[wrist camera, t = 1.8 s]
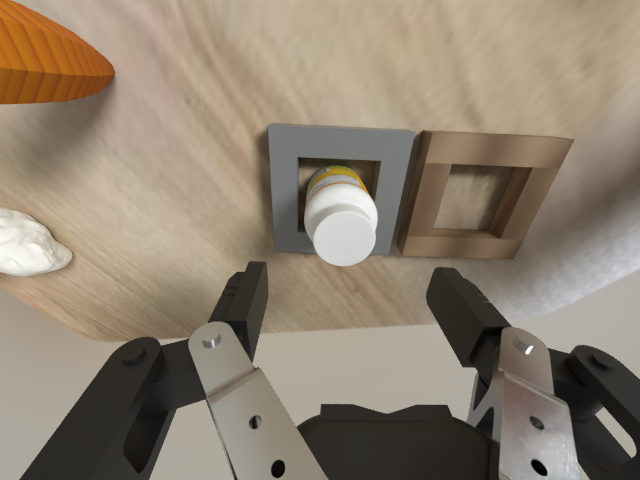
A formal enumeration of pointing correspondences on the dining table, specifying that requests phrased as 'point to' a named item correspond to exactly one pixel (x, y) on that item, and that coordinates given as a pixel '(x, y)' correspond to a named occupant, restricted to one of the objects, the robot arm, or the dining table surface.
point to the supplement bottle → (340, 216)
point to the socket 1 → (335, 144)
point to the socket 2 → (516, 203)
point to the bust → (28, 246)
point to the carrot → (45, 60)
